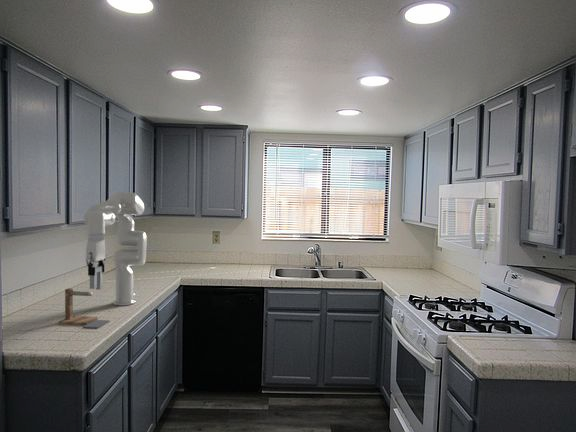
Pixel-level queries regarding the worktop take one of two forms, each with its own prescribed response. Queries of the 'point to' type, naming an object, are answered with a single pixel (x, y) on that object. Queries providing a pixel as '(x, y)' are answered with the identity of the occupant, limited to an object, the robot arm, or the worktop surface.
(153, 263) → the worktop surface
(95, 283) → the grey u-shaped bracket
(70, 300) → the hook stand
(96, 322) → the rubber mat
